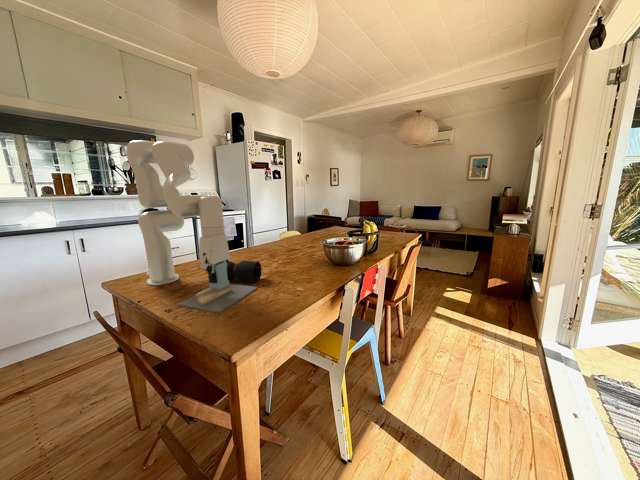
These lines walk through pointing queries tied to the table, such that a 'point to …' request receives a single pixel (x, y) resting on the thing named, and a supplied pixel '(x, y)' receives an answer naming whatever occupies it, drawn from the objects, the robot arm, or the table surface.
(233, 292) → the panel
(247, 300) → the table surface
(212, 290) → the plank
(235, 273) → the figurine
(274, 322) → the table surface
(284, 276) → the table surface
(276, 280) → the table surface
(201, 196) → the robot arm
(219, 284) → the block
